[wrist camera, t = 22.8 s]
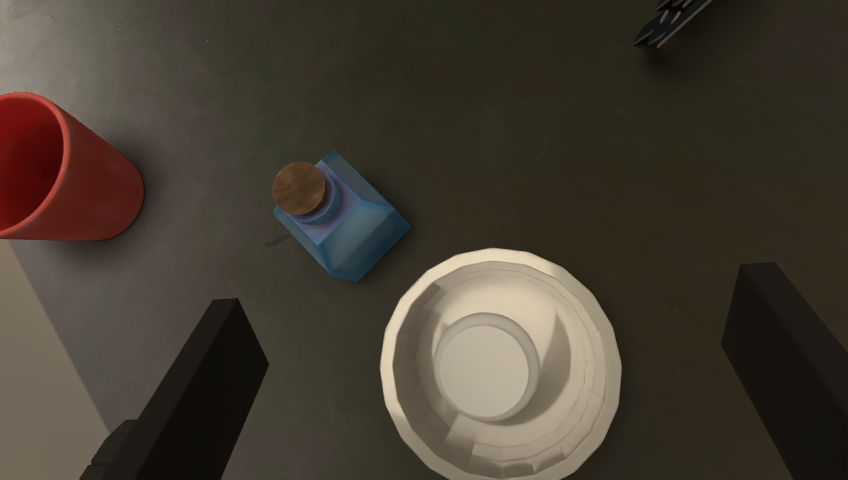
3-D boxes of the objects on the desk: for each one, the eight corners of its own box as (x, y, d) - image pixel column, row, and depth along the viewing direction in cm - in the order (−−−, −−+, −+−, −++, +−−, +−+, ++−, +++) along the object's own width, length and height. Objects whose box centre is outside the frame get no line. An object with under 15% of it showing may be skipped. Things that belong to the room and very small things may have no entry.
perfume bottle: (356, 282, 40) (294, 263, 28) (306, 229, 42) (227, 191, 30) (411, 226, 40) (372, 184, 28) (359, 176, 42) (301, 116, 30)
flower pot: (38, 175, 47) (-81, 135, 37) (140, 119, 46) (45, 65, 37) (69, 278, 44) (-50, 264, 35) (177, 221, 44) (86, 191, 34)
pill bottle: (542, 394, 36) (557, 422, 25) (457, 410, 37) (437, 443, 26) (522, 308, 37) (528, 299, 26) (441, 324, 38) (414, 322, 27)
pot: (461, 489, 36) (447, 537, 28) (378, 319, 39) (343, 316, 31) (633, 401, 35) (671, 423, 27) (534, 234, 38) (541, 208, 30)
